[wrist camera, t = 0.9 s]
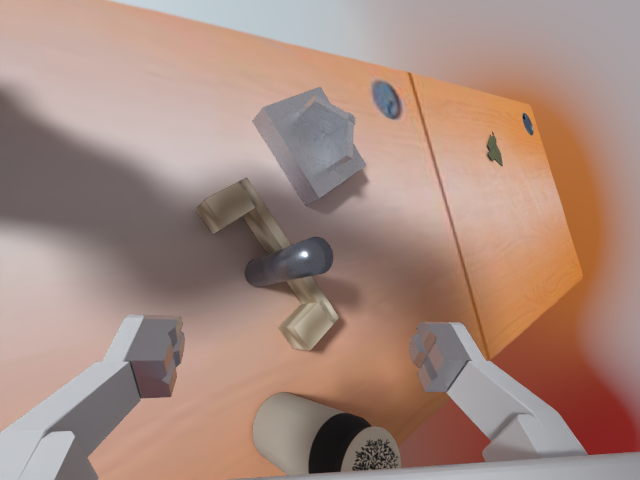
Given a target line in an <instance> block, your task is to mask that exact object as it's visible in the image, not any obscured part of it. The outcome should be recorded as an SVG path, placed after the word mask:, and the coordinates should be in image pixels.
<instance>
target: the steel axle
mask: <svg viewBox="0 0 640 480" xmlns="http://www.w3.org/2000/svg"><path fill="white" fill-rule="evenodd" d="M332 262H333V253H332V249H331V247H330V245H329V244H328V243H327V242H326V241H325V240H324V239H322V238H320V237H312V238H309V239H307V240H304V241H302V242H299V243H296V244H294V245H291V246H289V247H286V248H283V249H281V250H278V251H276V252H273V253H271V254H268V255H265V256H263V257H260V258H258V259H255V260H253V261H251V262H249V263H248V265H247V266H246V269H245V276H246V279H247V281H248V282H249V283H250V284H251V285H252V286H255V287H262V286H267V285H271V284H276V283H281V282H285V281H290V280H295V279H299V278H304V277H308V276H313V275H318V274H322V273H325V272H327V271H328V270H329V269H330V267H331V265H332Z"/></svg>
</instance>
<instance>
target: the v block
mask: <svg viewBox="0 0 640 480" xmlns="http://www.w3.org/2000/svg"><path fill="white" fill-rule="evenodd" d="M252 122H253V123H254V125H255V126H256V128H257V130H258V131H259V133H260V134H261V136H262V138H263V139H264V141H265V142H266V144H267V145H268V147H269V149H270V150H271V152H272V153H273V155H274V156H275V158H276V160H277V161H278V163H279V164H280V166H281V168H282V169H283V171H284V172H285V174H286V175H287V177H288V179H289V180H290V182H291V183H292V185H293V187H294V188H295V190H296V191H297V193H298V194H299V196H300V198H301V199H302V201H303V202H304V204H305V205H306V206H307V205H308V204H310V203H312V202H314V201H316V200H318V199H319V198H321V197H322V196H324V195H325V194H327V193H328V192H329V191H331V190H332V189H334V188H335V187H336V186H338V185H339V184H341V183H342V182H344V181H345V180H346V179H348V178H349V177H351V176H352V175H353V174H355V173H356V172H358V171H359V170H361V169H362V168H363V167H365V166H366V164H365V163H364V161H363V159H362V157H361V156H360V154H359V152H358V151H357V149H356V147H355V145H354V144H353V129H354V124H355V117H354V115H352V114H351V113H349V112H348V113H346V112H345V111H343V110H341V109H339V108H338V107H336V106H334V105H332V104H331V103H330V102H329V100H328V99H327V97H326V95H325V94H324V92H323V90H322V88H321V87H318V88H315V89H312V90H310V91H307V92H304V93H301V94H299V95H296V96H293V97H290V98H288V99H285V100H282V101H279V102H277V103H274V104H271V105H268V106H266V107H263V108H262V109H261V111H260V112H259V113H258V114H257V116H256V117H255V118H254V119H253V120H252Z"/></svg>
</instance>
